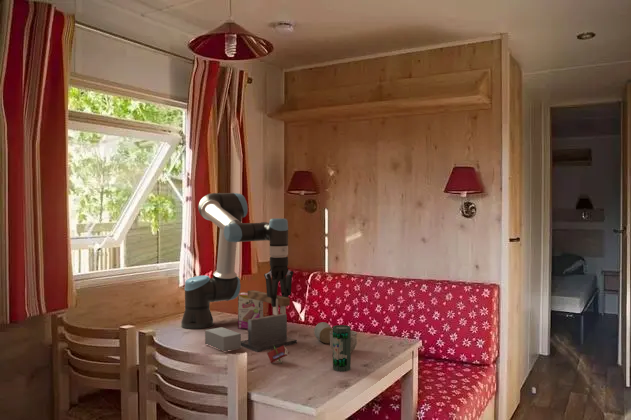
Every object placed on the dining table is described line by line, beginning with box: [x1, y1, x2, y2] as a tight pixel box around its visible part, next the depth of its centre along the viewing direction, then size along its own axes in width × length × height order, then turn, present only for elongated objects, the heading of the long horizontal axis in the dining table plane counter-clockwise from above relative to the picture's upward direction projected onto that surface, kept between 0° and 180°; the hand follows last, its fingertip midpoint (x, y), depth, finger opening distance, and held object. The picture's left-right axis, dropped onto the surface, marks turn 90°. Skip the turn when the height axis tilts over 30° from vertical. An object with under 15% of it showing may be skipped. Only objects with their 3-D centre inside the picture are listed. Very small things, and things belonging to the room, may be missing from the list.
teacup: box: [329, 330, 358, 353], centre depth 211 cm, size 14×11×8 cm
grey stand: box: [204, 326, 242, 352], centre depth 221 cm, size 15×8×6 cm, turn 40°
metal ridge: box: [241, 313, 298, 353], centre depth 224 cm, size 14×20×12 cm
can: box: [332, 324, 352, 372], centre depth 191 cm, size 6×6×15 cm
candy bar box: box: [237, 292, 264, 330], centre depth 251 cm, size 11×5×16 cm, turn 74°
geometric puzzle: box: [266, 345, 289, 365], centre depth 198 cm, size 7×7×8 cm
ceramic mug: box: [313, 321, 333, 344], centre depth 228 cm, size 11×8×8 cm
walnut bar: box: [247, 289, 291, 307], centre depth 223 cm, size 26×3×3 cm, turn 40°
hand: (279, 313), depth 217 cm, fingers closed on walnut bar, 3 cm apart
